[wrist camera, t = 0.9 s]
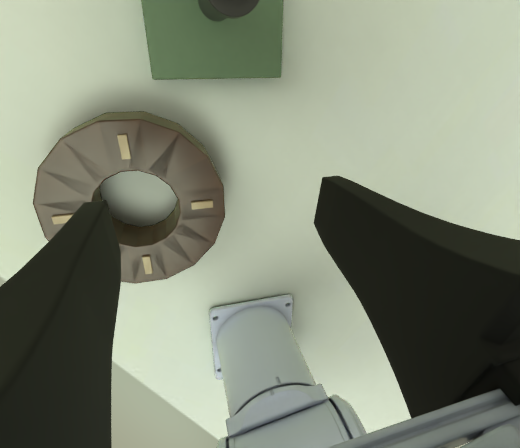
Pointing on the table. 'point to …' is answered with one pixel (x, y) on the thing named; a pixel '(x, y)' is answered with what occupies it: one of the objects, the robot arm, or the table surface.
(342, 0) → the table surface
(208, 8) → the rack
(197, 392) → the table surface
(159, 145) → the clock ring
